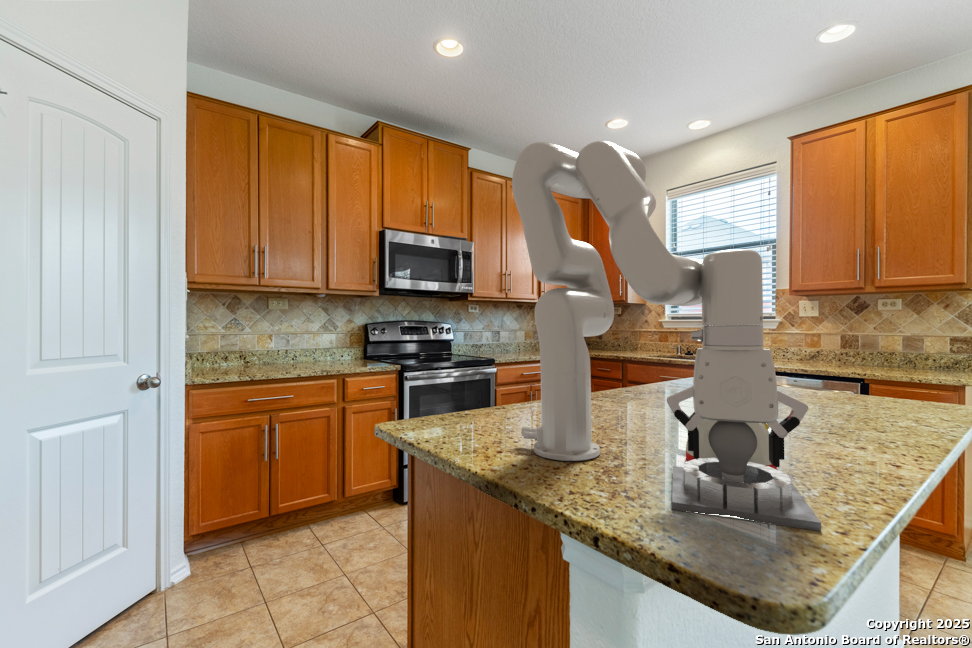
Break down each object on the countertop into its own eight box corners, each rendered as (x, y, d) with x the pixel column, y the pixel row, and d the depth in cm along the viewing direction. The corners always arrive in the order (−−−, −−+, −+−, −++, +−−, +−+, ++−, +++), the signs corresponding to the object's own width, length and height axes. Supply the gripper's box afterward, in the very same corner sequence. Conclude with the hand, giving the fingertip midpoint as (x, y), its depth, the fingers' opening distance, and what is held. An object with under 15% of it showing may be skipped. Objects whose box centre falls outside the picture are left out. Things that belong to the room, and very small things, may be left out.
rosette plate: (672, 509, 57) (671, 483, 57) (673, 472, 72) (672, 451, 72) (821, 531, 51) (820, 501, 51) (789, 485, 66) (788, 461, 66)
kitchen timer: (776, 482, 67) (774, 384, 67) (679, 467, 75) (678, 379, 75) (776, 459, 79) (775, 376, 79) (693, 448, 86) (691, 372, 86)
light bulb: (763, 489, 61) (762, 418, 62) (750, 501, 57) (749, 425, 57) (717, 479, 66) (716, 412, 66) (702, 489, 62) (701, 418, 62)
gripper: (665, 339, 62) (666, 461, 62) (814, 339, 55) (816, 476, 55) (666, 338, 69) (668, 447, 68) (798, 338, 62) (801, 459, 61)
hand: (733, 460), depth 62 cm, fingers open, 9 cm apart
